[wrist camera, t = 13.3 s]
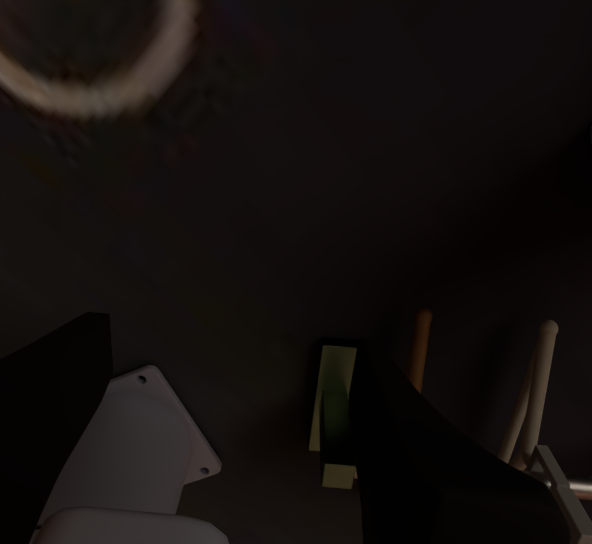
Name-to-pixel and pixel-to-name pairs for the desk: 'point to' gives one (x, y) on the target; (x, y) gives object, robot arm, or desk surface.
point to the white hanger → (584, 534)
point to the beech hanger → (418, 348)
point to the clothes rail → (335, 421)
